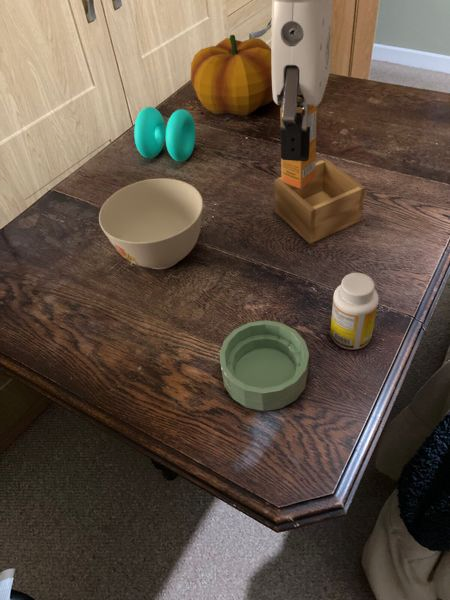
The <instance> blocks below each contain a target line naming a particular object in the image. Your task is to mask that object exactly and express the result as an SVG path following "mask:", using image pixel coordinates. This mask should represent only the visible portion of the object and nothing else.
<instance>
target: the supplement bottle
mask: <svg viewBox="0 0 450 600" xmlns="http://www.w3.org/2000/svg"><path fill="white" fill-rule="evenodd" d="M379 301H380V300H379V293H378V292H377V290H376V289H375V282H374V280H373V279H372V277H370V276H369V275H367V274H365V273H361V272H351V273H348V274H346V275H345V276H344V277H343V278H342V280H341V284H339V286H337V287H336V288H335V290H334V293H333V298H332V308H331V309H332V310H331V319H330V332H329V333H330V337H331V339H332V340H333V342H334V343H335V344H336V345H337V346H339V347H340V348H342V349H346V350H359V349H362V348H364V347H365V346H367V345H368V344H369V343H370V341H371V339H372V336H373V332H374V327H375V323H376V322H375V321H376V317H377V311H378V305H379Z"/></svg>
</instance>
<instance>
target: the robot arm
mask: <svg viewBox="0 0 450 600" xmlns="http://www.w3.org/2000/svg"><path fill="white" fill-rule="evenodd" d="M332 13H333V0H271V20H270V26H271V32H270V33H271V34H270V35H271V36H270V37H271V38H270V41H271V42H270V45H271V46H270V48H271V64H272V92H273V100H272V101H273V102H274V103H275V104H276V105H277V106H280V105H281V107H282V109H280V159H281V158H282V159H283V160H292V161H307V160H308V159H309V149H310V127H307V126H308V110H309V105H313V106H317V107H318V106H319V105H320V104H321V102H322V100H323V97H324V94H325V91H326V87H327V85H328V81H329V76H330V71H331V55H332V53H331V52H332V51H331V50H332V49H331V47H332V23H333V22H332V18H333V17H332V16H333V14H332ZM298 97H300V98H302V99H298ZM297 107H302V116H301V114H300V113H297Z"/></svg>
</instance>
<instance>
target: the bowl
mask: <svg viewBox="0 0 450 600" xmlns="http://www.w3.org/2000/svg"><path fill="white" fill-rule="evenodd" d="M203 212H204V199H203V196H202V195H201V193H200V192H199V191H198V189H197V188H196V187H194V186H193V185H191V184H189V183H188V182H186V181H183V180H180V179H174V178H167V177H165V178H162V177H161V178H150V179H144V180H140V181H137V182H133V183H131V184H128V185H126V186H124V187H122V188H120V189H119V190H117V191H116V192H114V193H113V194H111V195H110V196H109V197H108V198H107V199H106V201H104V203H103V204H102V206H101V208H100V211H99V213H98V222H99V226H100V228H101V230H102V231H103V233H104V234H105V236H106V237H107V239H108V240H109V241H110V243H111V245H112V246H113V248H115V250H116V251H117V252H118V254H120V255H121V256H122V257H123V258H124V259H125V260H127V261H128V262H130V263H132V264H134V265H136V266H139V267H143V268H148V269H152V270H153V269H154V270H166V269H169V268H172V267H174V266H175V265H176V264H178V262H181V260H183V259H185V257H187V256H188V255H189V254H190V253H191V252H192V250H193V249H194V247H195V246H196V244H197V242H198V239H199V237H200V233H201V227H202V220H203Z"/></svg>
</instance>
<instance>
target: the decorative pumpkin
mask: <svg viewBox="0 0 450 600" xmlns="http://www.w3.org/2000/svg"><path fill="white" fill-rule="evenodd" d="M190 81H191V84H192V88H193V90H194V91H195V93H196V97H197V99H198V100H199V101H200V103H201V104H202V105H203V107H204V108H205V109H206V110H207V111H209V112H211V113H212V114H234V115H237V116H248V115H250V114H251V113H254V112H255V111H256V110H258V109H259V108H261V107H263V106H266V105H268V104H270V103H271V102H272V101H274V100H273V92H272V64H271V46H269V44H267V43H266V42H265V41H264V40H262V39H261V38H259V37H258V38H250V39H246V40H243V41H241V40H238V39H236V36H235V35H234V34H230V35H229V37H225V38H224V39H223V40H220V41H219V42H218V43H217V44H216V45H211V46H207V47H205V48H200V49H199V51H198V52H196V53H195V54H194V56H193V58H192V60H191V63H190Z"/></svg>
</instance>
